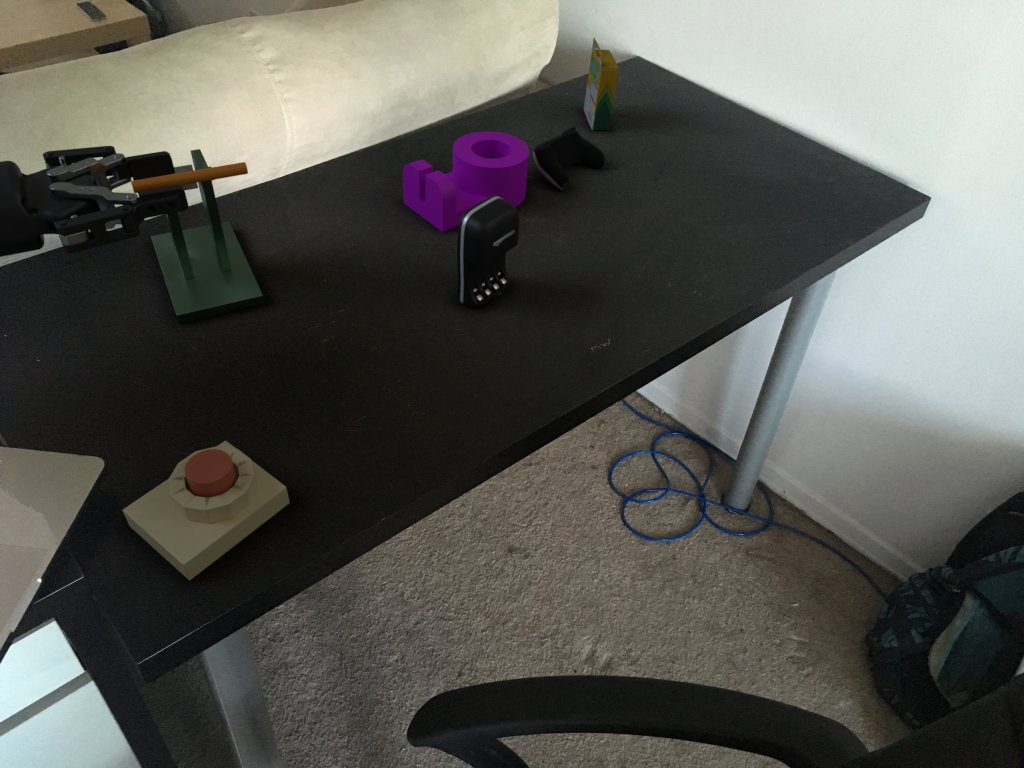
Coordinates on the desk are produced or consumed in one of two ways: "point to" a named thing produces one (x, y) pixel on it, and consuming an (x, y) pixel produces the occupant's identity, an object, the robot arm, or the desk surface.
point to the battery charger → (485, 250)
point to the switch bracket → (205, 262)
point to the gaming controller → (565, 156)
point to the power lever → (189, 177)
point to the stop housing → (205, 513)
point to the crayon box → (600, 88)
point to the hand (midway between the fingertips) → (178, 179)
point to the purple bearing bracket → (468, 178)
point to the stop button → (210, 472)
